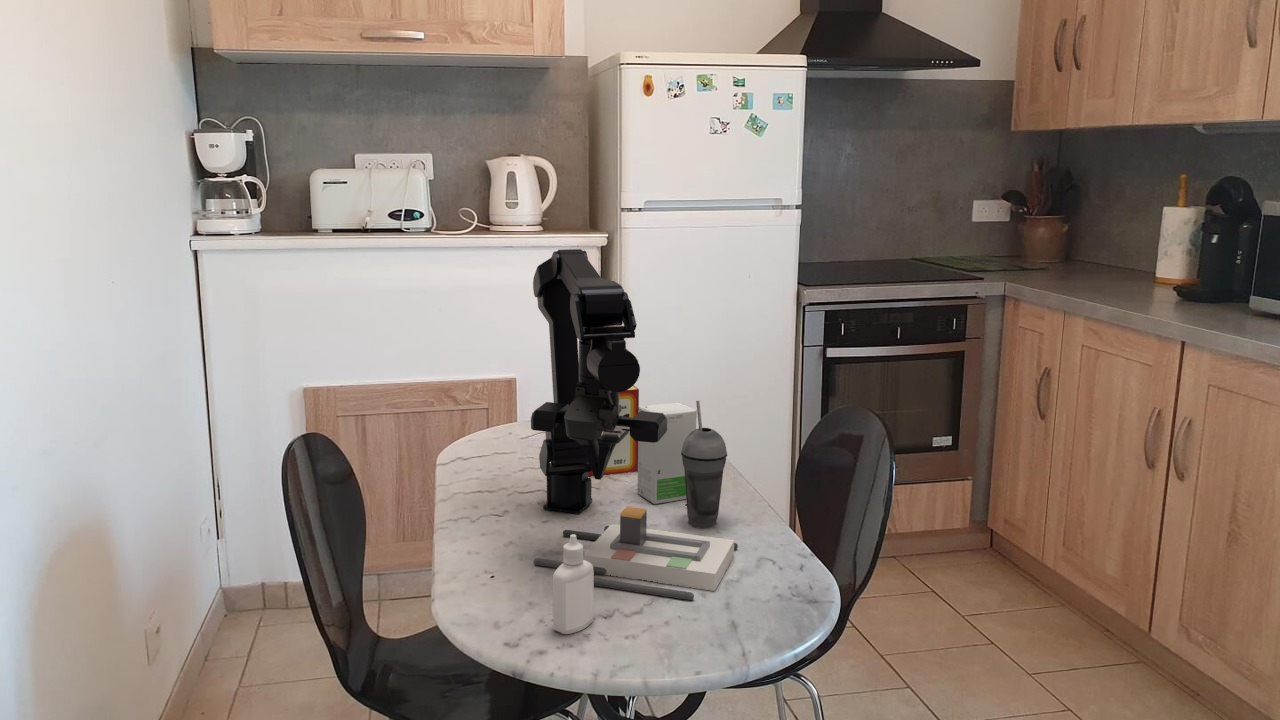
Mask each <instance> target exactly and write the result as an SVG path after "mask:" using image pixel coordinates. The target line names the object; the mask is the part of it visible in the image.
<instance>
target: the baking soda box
mask: <svg viewBox="0 0 1280 720" xmlns="http://www.w3.org/2000/svg"><path fill="white" fill-rule="evenodd" d="M639 403H640V389H639V388H638V387H637V386H635V384H634V385H633V386H632V387H631V388H630V389H628V390H626V391H623V392H619V405H621V412H620V413H619V416H621V417H631V418H634V417H635V416H636V415H637V414H638V413H639V406H640V404H639ZM602 435H603V431H602ZM602 435H601V436H602ZM628 472H630V473H638V441H635V440H634V439H633V438H632V437H631V436H630V431H628V434H627V435H626V436H625V437H624V438H623V439H622V440H621V441H620V442H619V443H617V444H616V445H615V447H614V449H613V452H612V454H611V457H610V459H609V462H608V464H607V467H606V469H605V472H604V475H603V476H609V475H610V474H612V475H619V474H628ZM590 476H593V477H594V475H593V472H588V478H591V477H590ZM610 476H611V475H610Z"/></svg>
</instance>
